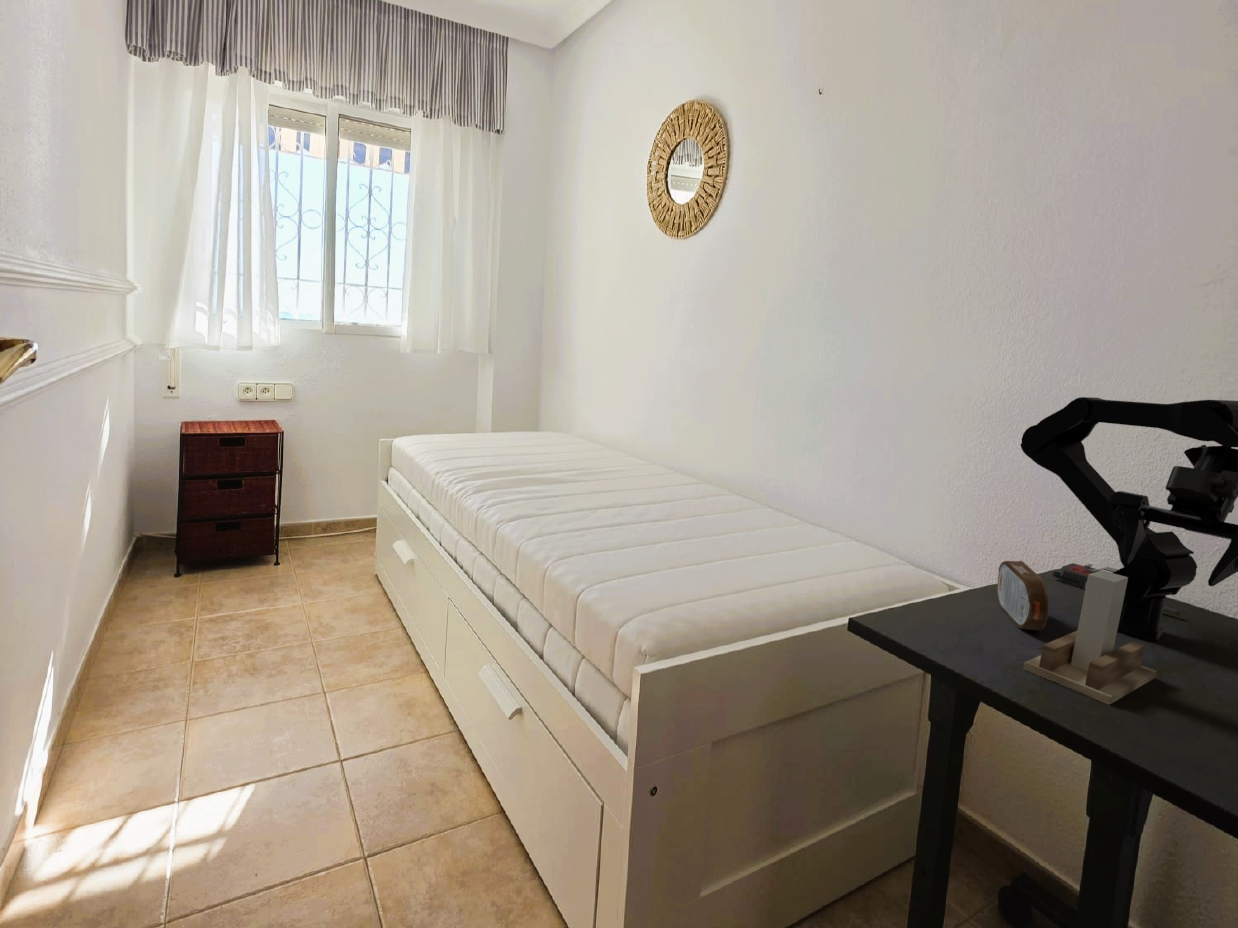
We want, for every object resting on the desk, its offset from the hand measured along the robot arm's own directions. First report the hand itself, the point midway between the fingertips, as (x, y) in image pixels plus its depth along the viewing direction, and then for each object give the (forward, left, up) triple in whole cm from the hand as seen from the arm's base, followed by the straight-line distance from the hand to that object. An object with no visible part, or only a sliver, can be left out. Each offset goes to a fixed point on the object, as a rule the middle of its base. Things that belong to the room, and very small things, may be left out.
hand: (1166, 572), depth 91 cm
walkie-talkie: (-33, -9, -14) cm, 37 cm away
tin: (-4, -17, -14) cm, 23 cm away
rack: (+9, -5, -14) cm, 17 cm away
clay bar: (+9, -5, -13) cm, 16 cm away
